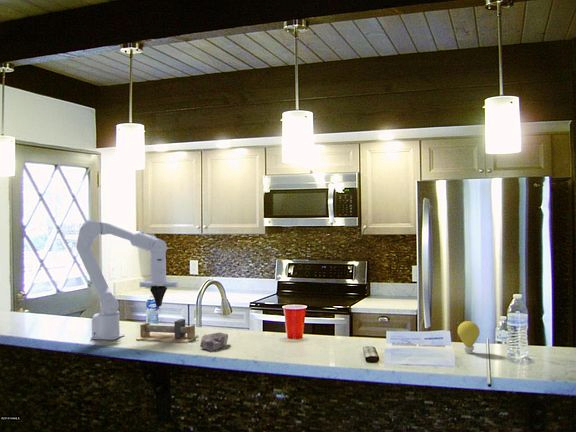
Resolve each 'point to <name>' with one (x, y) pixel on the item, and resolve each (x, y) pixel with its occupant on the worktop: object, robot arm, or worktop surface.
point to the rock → (214, 341)
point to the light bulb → (468, 335)
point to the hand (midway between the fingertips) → (158, 306)
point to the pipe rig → (148, 336)
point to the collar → (177, 328)
